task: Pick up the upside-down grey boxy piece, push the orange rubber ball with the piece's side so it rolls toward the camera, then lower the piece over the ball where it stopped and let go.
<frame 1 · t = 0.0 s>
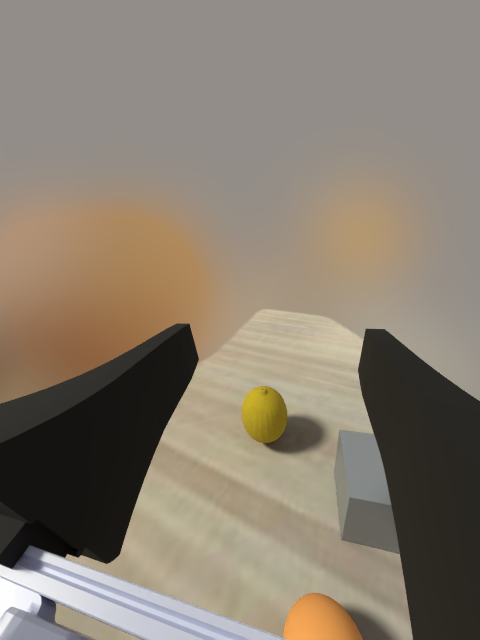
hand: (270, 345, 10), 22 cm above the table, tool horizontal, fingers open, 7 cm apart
lemon: (265, 437, 31), on the table
grey boxy piece: (371, 508, 22), on the table
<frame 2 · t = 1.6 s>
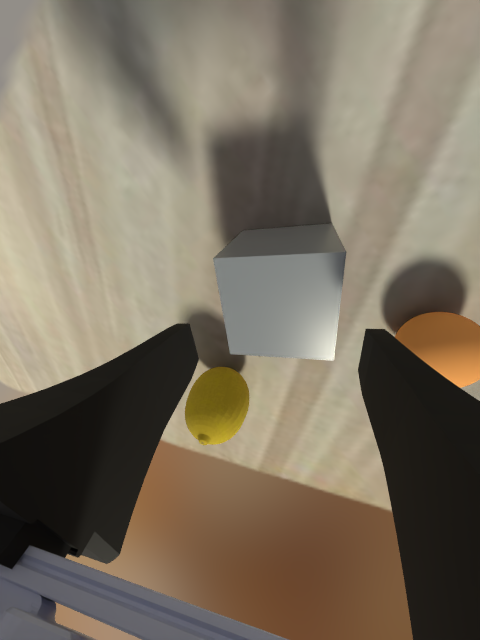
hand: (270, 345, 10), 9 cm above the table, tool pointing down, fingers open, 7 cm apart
lemon: (230, 369, 25), on the table
ball: (438, 349, 16), on the table
grey boxy piece: (286, 269, 18), on the table
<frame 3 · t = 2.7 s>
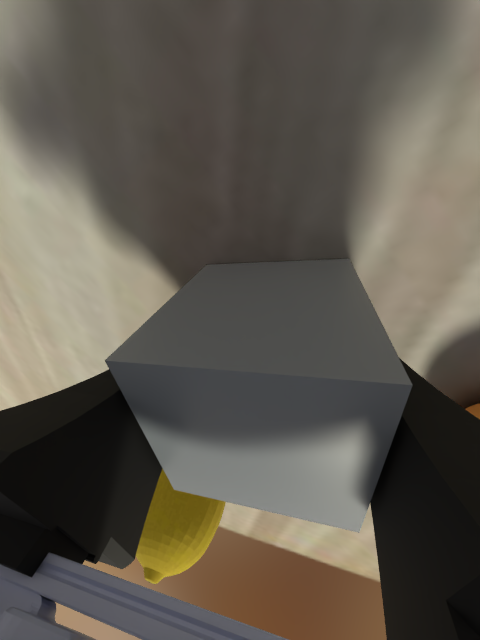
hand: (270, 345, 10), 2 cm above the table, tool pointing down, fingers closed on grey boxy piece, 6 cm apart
lemon: (205, 435, 19), on the table
grey boxy piece: (275, 321, 11), on the table, touching gripper
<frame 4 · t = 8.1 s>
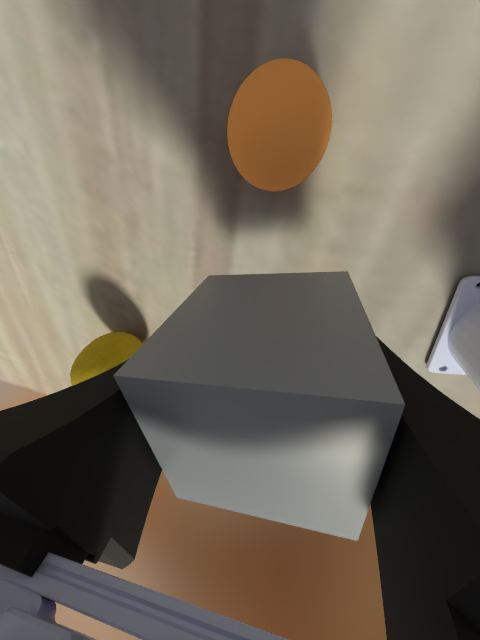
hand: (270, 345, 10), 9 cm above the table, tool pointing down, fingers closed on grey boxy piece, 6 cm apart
lemon: (138, 338, 26), on the table
ball: (277, 133, 12), on the table
grey boxy piece: (275, 331, 12), point 8 cm above the table, touching gripper
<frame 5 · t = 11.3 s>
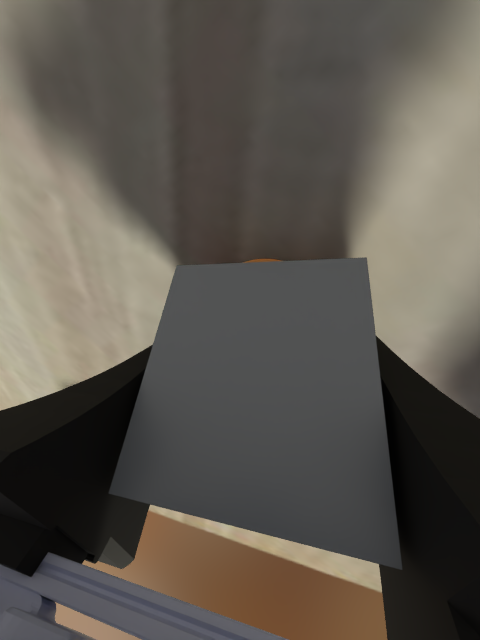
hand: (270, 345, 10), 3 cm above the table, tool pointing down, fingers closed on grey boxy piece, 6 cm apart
grey boxy piece: (271, 307, 10), point 2 cm above the table, tilted 33°, touching gripper
when the fingers open (2 cm above the table, at t = 12.0 s): grey boxy piece drops 2 cm, on the table.
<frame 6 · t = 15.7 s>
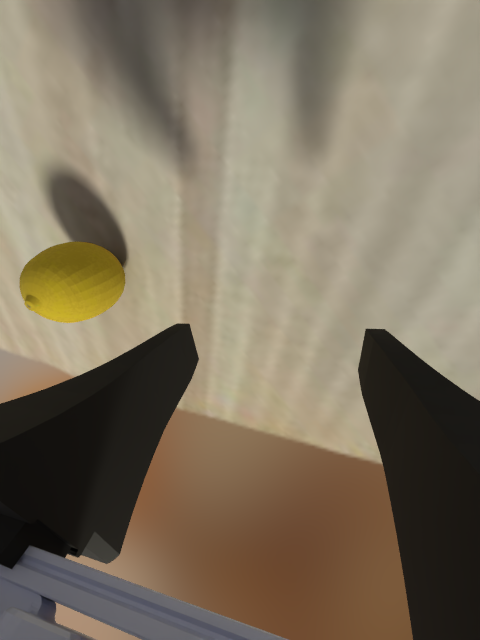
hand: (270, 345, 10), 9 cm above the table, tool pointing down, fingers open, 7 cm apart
lemon: (116, 263, 21), on the table
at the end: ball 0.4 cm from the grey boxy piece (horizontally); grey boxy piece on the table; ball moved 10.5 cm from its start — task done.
